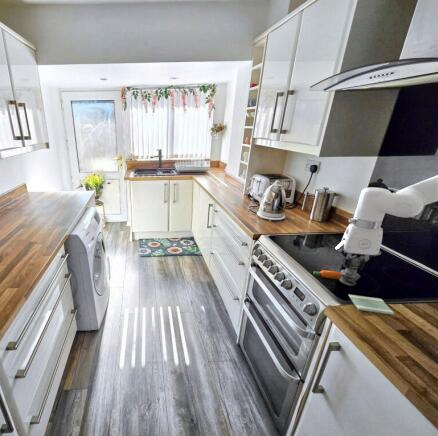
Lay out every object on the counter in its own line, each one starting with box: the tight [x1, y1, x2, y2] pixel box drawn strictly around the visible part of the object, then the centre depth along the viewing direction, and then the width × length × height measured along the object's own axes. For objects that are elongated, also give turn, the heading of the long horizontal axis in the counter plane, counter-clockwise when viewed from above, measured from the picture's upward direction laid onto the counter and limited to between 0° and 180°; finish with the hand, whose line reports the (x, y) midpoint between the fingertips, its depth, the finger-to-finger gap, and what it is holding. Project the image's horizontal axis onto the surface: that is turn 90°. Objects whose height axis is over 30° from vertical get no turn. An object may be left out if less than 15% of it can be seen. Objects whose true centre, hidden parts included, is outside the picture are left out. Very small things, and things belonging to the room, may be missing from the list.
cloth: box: [348, 293, 396, 316], centre depth 85 cm, size 8×10×1 cm
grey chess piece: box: [338, 254, 361, 287], centre depth 91 cm, size 6×6×12 cm
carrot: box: [312, 269, 342, 280], centre depth 100 cm, size 13×3×3 cm, turn 73°
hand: (352, 266), depth 91 cm, fingers closed on grey chess piece, 3 cm apart
